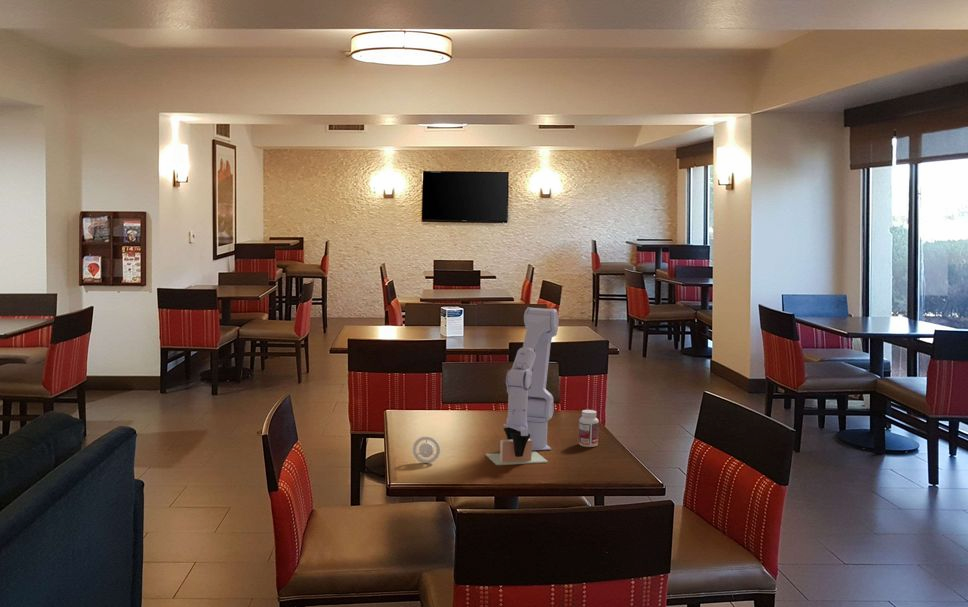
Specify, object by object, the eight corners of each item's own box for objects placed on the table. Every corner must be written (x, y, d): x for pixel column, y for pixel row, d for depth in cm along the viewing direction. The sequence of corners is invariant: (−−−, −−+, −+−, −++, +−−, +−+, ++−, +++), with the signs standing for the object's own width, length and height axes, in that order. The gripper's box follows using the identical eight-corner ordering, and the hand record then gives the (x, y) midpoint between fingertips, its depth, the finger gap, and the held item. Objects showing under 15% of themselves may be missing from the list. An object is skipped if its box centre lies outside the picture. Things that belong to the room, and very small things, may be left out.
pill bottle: (594, 442, 292) (595, 409, 291) (600, 447, 286) (601, 413, 285) (576, 442, 291) (577, 409, 290) (581, 447, 285) (582, 413, 284)
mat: (485, 455, 273) (485, 453, 273) (535, 452, 277) (535, 451, 277) (496, 465, 262) (496, 463, 262) (547, 462, 267) (547, 461, 267)
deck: (499, 459, 267) (500, 439, 266) (528, 458, 269) (529, 438, 269) (502, 461, 264) (503, 441, 264) (531, 460, 267) (531, 440, 266)
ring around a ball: (440, 462, 264) (441, 435, 263) (438, 467, 258) (438, 440, 257) (413, 460, 264) (413, 434, 263) (410, 466, 259) (411, 439, 258)
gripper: (497, 404, 271) (496, 448, 272) (512, 414, 257) (510, 461, 259) (519, 403, 273) (518, 447, 274) (535, 414, 259) (534, 460, 261)
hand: (516, 454), depth 267 cm, fingers open, 5 cm apart
